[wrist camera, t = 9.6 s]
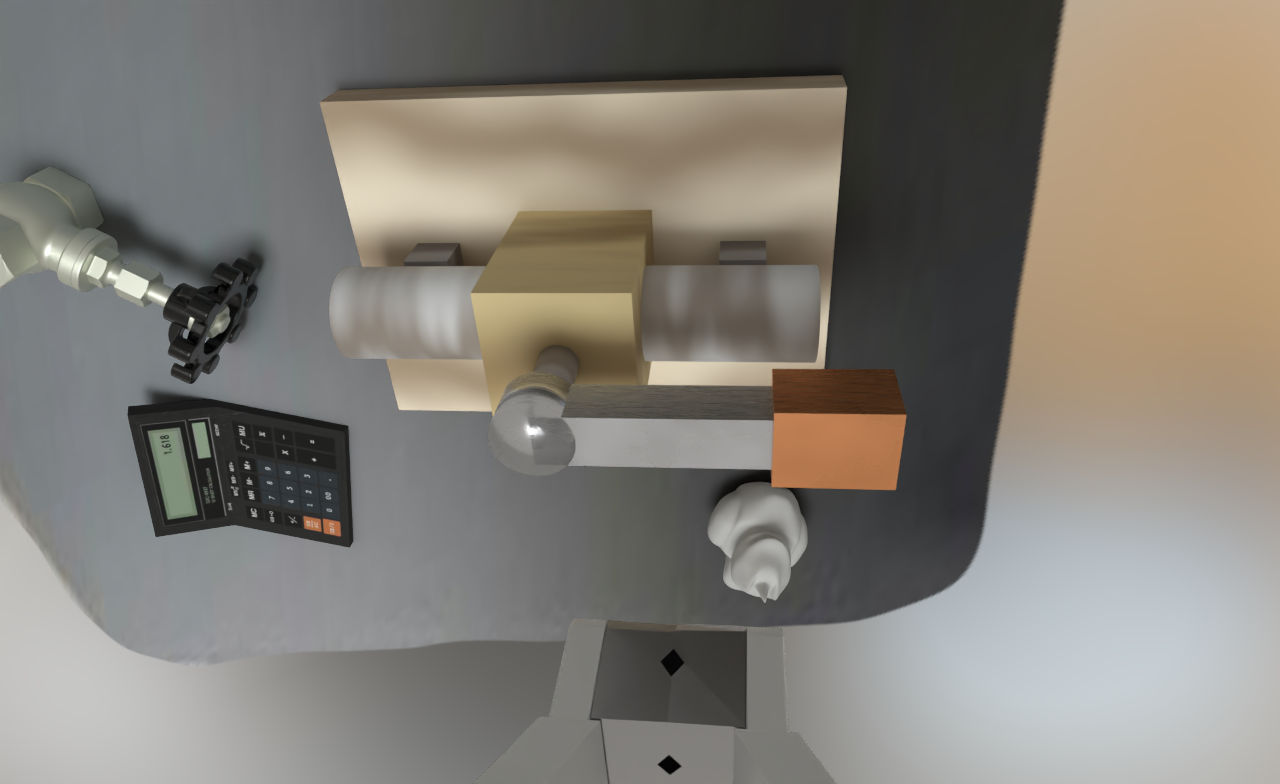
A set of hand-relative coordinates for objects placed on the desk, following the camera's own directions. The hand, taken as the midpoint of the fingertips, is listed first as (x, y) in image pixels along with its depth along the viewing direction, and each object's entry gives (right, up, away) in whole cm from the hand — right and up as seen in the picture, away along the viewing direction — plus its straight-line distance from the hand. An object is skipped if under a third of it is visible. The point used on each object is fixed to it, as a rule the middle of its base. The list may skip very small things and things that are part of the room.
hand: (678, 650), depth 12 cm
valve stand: (-3, +10, +28) cm, 30 cm away
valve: (-26, +12, +31) cm, 42 cm away
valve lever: (+1, +3, +17) cm, 18 cm away
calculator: (-24, -1, +39) cm, 46 cm away
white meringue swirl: (+6, -3, +37) cm, 37 cm away
